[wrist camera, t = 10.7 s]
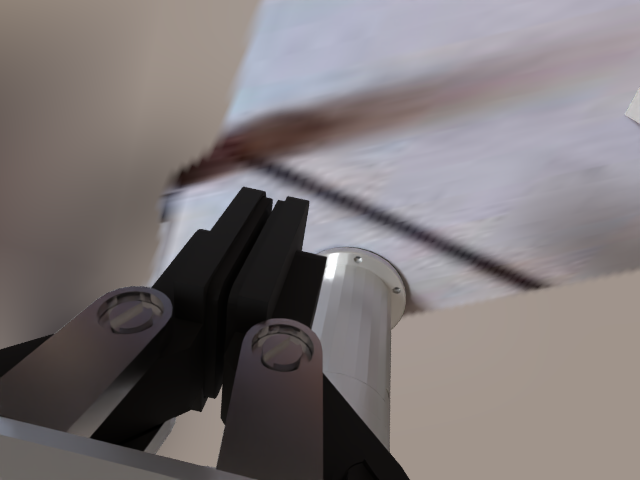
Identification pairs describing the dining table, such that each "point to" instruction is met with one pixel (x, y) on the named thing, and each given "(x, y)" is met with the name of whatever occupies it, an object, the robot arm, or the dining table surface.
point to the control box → (634, 108)
